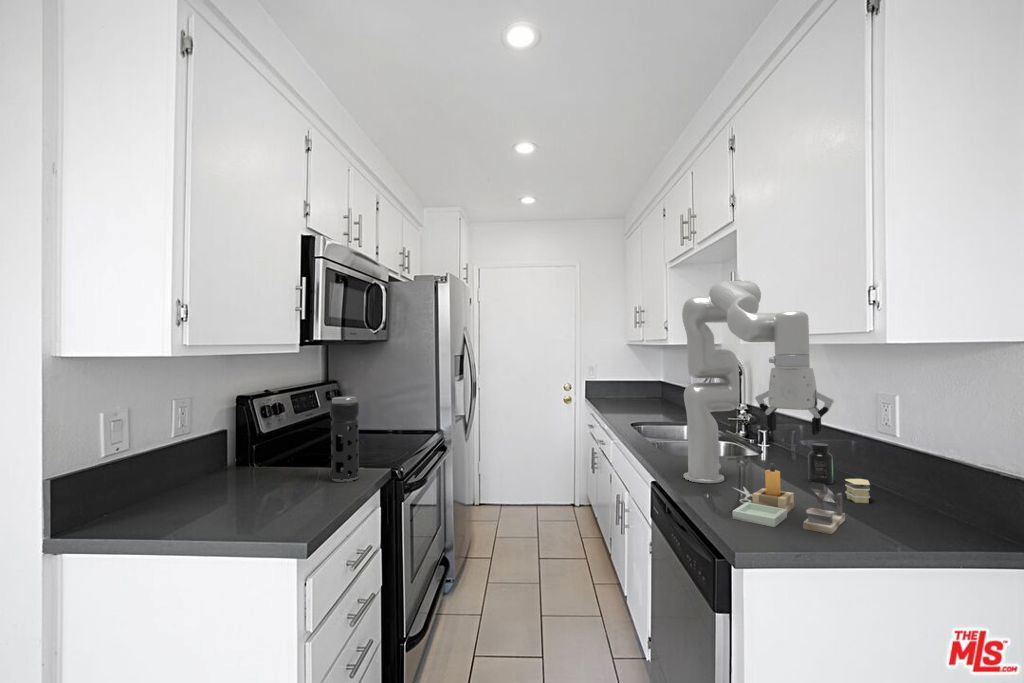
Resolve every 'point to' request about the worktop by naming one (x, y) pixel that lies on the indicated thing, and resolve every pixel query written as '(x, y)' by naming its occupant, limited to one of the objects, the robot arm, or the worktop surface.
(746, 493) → the scissors
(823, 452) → the supplement bottle
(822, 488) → the lever
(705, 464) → the robot arm
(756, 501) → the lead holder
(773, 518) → the tray
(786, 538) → the worktop surface
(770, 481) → the plug
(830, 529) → the base
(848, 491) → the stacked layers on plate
